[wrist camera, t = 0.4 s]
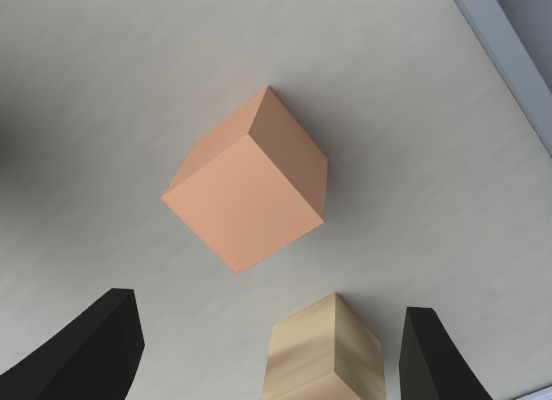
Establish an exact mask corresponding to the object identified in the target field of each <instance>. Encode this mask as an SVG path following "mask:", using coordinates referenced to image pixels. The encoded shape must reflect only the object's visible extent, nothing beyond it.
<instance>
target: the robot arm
mask: <svg viewBox="0 0 552 400" xmlns="http://www.w3.org/2000/svg"><path fill="white" fill-rule="evenodd" d="M144 346H145V343H144V338H143V334H142V329H141V324H140V319H139V314H138V309H137V304H136V299H135V294H134V290H133V289H119V288H111V289H110V290H109V291H108V292H106V293H105V294H104V295H103V296H101V297H100V298H99V299H98V300H97V301H95V302H94V303H93V304H92V305H91V306H90V307H88V308H87V309H86V310H85V311H84V312H82V313H81V314H80V315H79V316H78V317H76V318H75V319H74V320H73V321H72V322H70V323H69V324H68V325H67V326H66V327H64V328H63V329H62V330H61V331H59V332H58V333H57V334H56V335H54V336H53V337H52V338H51V339H49V340H48V341H47V342H46V343H44V344H43V345H42V346H40V347H39V348H38V349H36V350H35V351H34V352H32V353H31V354H30V355H28V356H27V357H26V358H24V359H23V360H22V361H20V362H19V363H18V364H16V365H15V366H13V367H12V368H10V369H9V370H8V371H6V372H5V373H3V374H2V375H0V400H125V398H126V396H127V394H128V391H129V389H130V387H131V385H132V383H133V380H134V377H135V374H136V372H137V369H138V366H139V363H140V359H141V356H142V353H143V350H144ZM399 374H400V389H401V400H493V399H492V398H491V396H490V395H489V394H488V393H487V391H486V390H485V388H484V387H483V386H482V384H481V383H480V382H479V380H478V379H477V377H476V376H475V375H474V373H473V372H472V370H471V369H470V367H469V366H468V364H467V363H466V362H465V360H464V359H463V357H462V356H461V354H460V353H459V351H458V349H457V348H456V346H455V345H454V343H453V341H452V340H451V338H450V337H449V335H448V333H447V332H446V330H445V328H444V326H443V325H442V323H441V321H440V319H439V318H438V316H437V314H436V312H435V311H434V310H433V309H432V308H421V307H407V310H406V317H405V324H404V332H403V339H402V346H401V353H400V360H399ZM516 400H552V386H551V387H548V388H545V389H543V390H540V391H537V392H535V393H532V394H529V395H526V396H524V397H521V398H518V399H516Z"/></svg>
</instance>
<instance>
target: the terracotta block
mask: <svg viewBox="0 0 552 400" xmlns="http://www.w3.org/2000/svg"><path fill="white" fill-rule="evenodd" d="M327 172H328V159H327V157H326V156H325V155H324V154H323V152H322V151H321V150H320V149H319V148H318V146H317V145H316V144H315V143H314V141H313V140H312V139H311V138H310V136H309V135H308V134H307V133H306V132H305V130H304V129H303V128H302V127H301V125H300V124H299V123H298V122H297V121H296V119H295V118H294V117H293V116H292V114H291V113H290V112H289V111H288V110H287V108H286V107H285V106H284V105H283V103H282V102H281V101H280V100H279V99H278V97H277V96H276V95H275V94H274V92H273V91H272V90H271V89H270V88H269V86H267V87H266V88H264V89H263V90H262V91H261V92H259V93H258V94H257V95H255V96H254V97H253V98H252V99H250V100H249V101H248V102H247V103H245V104H244V105H243V106H241V107H240V108H239V109H238V110H236V111H235V112H234V113H232V114H231V115H230V116H229V117H227V118H226V119H225V120H223V121H222V122H221V123H220V124H218V125H217V126H216V127H215V128H213V129H212V130H211V131H209V132H208V133H207V134H206V135H204V136H203V137H202V138H200V139H199V140H198V141H197V142H196V143H195V145H194V147H193V148H192V150H191V151H190V153H189V155H188V156H187V158H186V159H185V161H184V162H183V164H182V166H181V167H180V169H179V170H178V172H177V174H176V175H175V177H174V178H173V180H172V182H171V183H170V185H169V186H168V188H167V189H166V191H165V193H164V194H163V196H162V197H161V199H162V200H163V201H164V202H165V203H166V204H167V205H168V206H169V207H170V208H171V209H172V210H173V211H174V212H175V213H176V214H177V215H178V216H179V217H180V218H181V219H182V220H183V221H184V222H185V223H186V224H187V225H188V226H189V227H190V228H191V229H192V230H193V231H194V232H195V233H196V234H197V235H198V236H199V237H200V238H201V239H202V240H203V241H204V242H205V243H206V244H207V245H208V246H209V247H210V248H211V249H212V250H213V251H214V252H215V253H216V254H217V255H218V256H219V257H220V259H221V260H222V261H223V262H224V263H225V264H226V265H227V266H228V267H229V268H230V269H231V270H232V271H233V272H234V273H235V274H236V275H238V274H240V273H242V272H243V271H245V270H246V269H248V268H250V267H251V266H253V265H255V264H256V263H258V262H260V261H261V260H263V259H265V258H266V257H268V256H270V255H271V254H273V253H275V252H276V251H278V250H280V249H281V248H283V247H284V246H286V245H288V244H289V243H291V242H293V241H294V240H296V239H298V238H299V237H301V236H303V235H304V234H306V233H308V232H309V231H311V230H313V229H314V228H316V227H317V226H319V225H321V224H322V223H324V222H325V205H326V188H327Z"/></svg>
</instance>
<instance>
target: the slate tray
mask: <svg viewBox="0 0 552 400" xmlns="http://www.w3.org/2000/svg"><path fill="white" fill-rule="evenodd" d="M454 1H455V3H456V4H457V6H458V7H459V9H460V11H461V12H462V14H463V16H464V17H465V19H466V20H467V22H468V24H469V25H470V27H471V28H472V30H473V32H474V33H475V35H476V36H477V38H478V40H479V41H480V43H481V45H482V46H483V48H484V49H485V51H486V53H487V54H488V56H489V57H490V59H491V61H492V62H493V64H494V66H495V67H496V69H497V70H498V72H499V74H500V75H501V77H502V78H503V80H504V82H505V83H506V85H507V86H508V88H509V90H510V91H511V93H512V95H513V96H514V98H515V99H516V101H517V103H518V104H519V106H520V107H521V109H522V111H523V112H524V114H525V116H526V117H527V119H528V120H529V122H530V124H531V125H532V127H533V128H534V130H535V132H536V133H537V135H538V137H539V138H540V140H541V141H542V143H543V145H544V146H545V148H546V149H547V151H548V153H549V154H550V156H551V157H552V0H454Z"/></svg>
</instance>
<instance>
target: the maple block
mask: <svg viewBox="0 0 552 400" xmlns="http://www.w3.org/2000/svg"><path fill="white" fill-rule="evenodd" d="M261 400H386V390H385V379H384V368H383V357H382V346H381V341H380V340H379V339H378V338H377V337H376V336H375V335H374V334H373V333H372V332H371V330H370V329H369V328H368V327H367V326H366V325H365V324H364V323H363V322H362V321H361V320H360V319H359V317H358V316H357V315H356V314H355V313H354V312H353V311H352V310H351V309H350V308H349V307H348V305H347V304H346V303H345V302H344V301H343V300H342V299H341V298H340V297H339V296H338V295H337V293H336V292H335V293H333V294H331V295H329V296H327V297H325V298H324V299H322V300H320V301H318V302H316V303H314V304H312V305H310V306H309V307H307V308H305V309H303V310H301V311H299V312H297V313H295V314H294V315H292V316H290V317H288V318H286V319H284V320H282V321H280V322H279V323H277V324H275V325H273V329H272V335H271V341H270V347H269V354H268V360H267V366H266V372H265V378H264V384H263V390H262V396H261Z"/></svg>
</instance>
